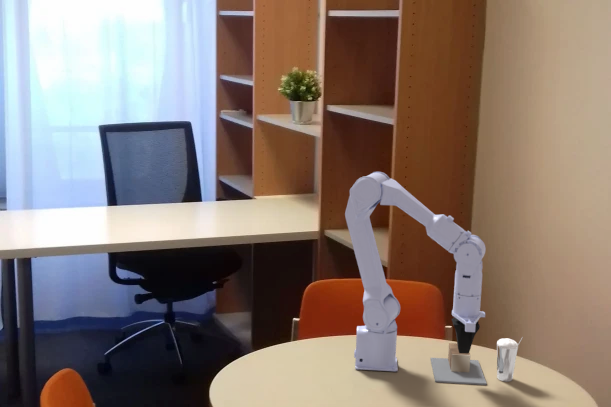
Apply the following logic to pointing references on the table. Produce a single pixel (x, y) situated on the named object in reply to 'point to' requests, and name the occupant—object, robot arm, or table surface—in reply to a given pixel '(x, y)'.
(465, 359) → the walnut block
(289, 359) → the table surface
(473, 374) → the mat
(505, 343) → the milkshake
